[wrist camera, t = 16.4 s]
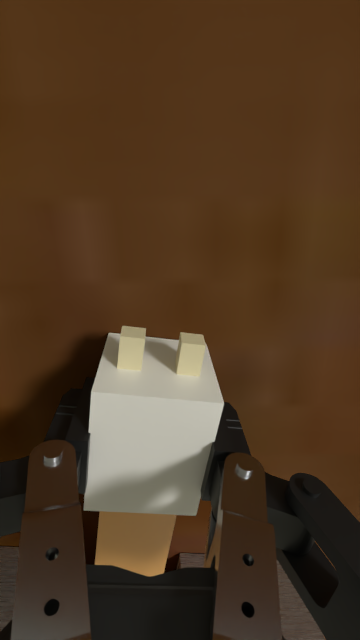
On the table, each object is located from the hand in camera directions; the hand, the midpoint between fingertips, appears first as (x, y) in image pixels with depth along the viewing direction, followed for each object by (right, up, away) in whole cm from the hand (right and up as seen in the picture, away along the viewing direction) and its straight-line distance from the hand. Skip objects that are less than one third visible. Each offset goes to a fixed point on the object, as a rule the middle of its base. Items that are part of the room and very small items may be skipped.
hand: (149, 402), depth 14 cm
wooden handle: (-1, -7, +4) cm, 8 cm away
